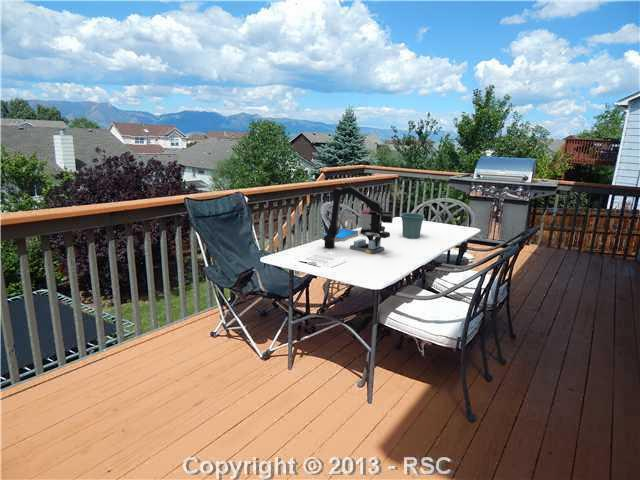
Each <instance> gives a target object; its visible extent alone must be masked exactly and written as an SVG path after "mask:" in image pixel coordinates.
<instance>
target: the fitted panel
mask: <svg viewBox="0 0 640 480" xmlns="http://www.w3.org/2000/svg"><path fill="white" fill-rule="evenodd" d="M366 241H367V240H366V238H360V239H357V240H354V241H353V245H354V246H355V247H360V246H363V245H366V243H367V242H366Z"/></svg>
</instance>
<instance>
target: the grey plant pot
mask: <svg viewBox="0 0 640 480" xmlns="http://www.w3.org/2000/svg"><path fill="white" fill-rule="evenodd" d="M370 211H372V210H371V209H370V208H369V207H368V208H367V209H362V210H361V211H359V215H360V228H361V229H363V228H368V229H370V227H371V225H369V224H370V223H371V215H368V213H369V212H370ZM372 212H374V211H372ZM380 223H381V226H383V225H382V224H383V222H382V221H381V215H380ZM361 229H360V230H361ZM363 235H365V236H366V233H365V234H363ZM374 237H376V235H375V234H374Z"/></svg>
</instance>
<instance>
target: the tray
mask: <svg viewBox="0 0 640 480" xmlns="http://www.w3.org/2000/svg"><path fill="white" fill-rule="evenodd" d="M297 257H300V258H301V257H303V259H304V260H308V261H312V262H307V263H306V264H309V265H313V266H317V267H320V268H321V267H329V268H334V267H336V266H338V265H341V264H343V263H346V261H345V260H341V257H337V256H333V255H328V254H323V253H317V254H315V253H308V252H307V253H304V254H302V255H299V256H297ZM297 257H295V258H297ZM305 258H306V259H305Z"/></svg>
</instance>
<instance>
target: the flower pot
mask: <svg viewBox="0 0 640 480" xmlns="http://www.w3.org/2000/svg"><path fill="white" fill-rule="evenodd" d="M400 216H401V221H402V224H401V225H402V238H403V237H404V238H407V239H418V238H420V237H421V230H422V225H423V221H424V217H425V215H424V214H421V213H416V212H415V213H414V212H403V213H401V214H400Z"/></svg>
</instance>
